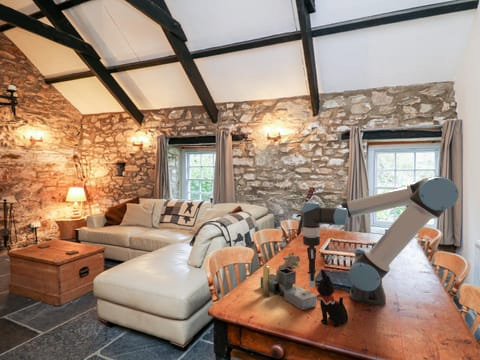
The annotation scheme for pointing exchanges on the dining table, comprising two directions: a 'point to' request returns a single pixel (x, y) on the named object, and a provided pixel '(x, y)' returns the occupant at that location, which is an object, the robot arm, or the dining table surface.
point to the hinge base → (281, 281)
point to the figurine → (330, 302)
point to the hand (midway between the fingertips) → (312, 286)
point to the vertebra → (290, 261)
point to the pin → (266, 280)
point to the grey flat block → (300, 297)
